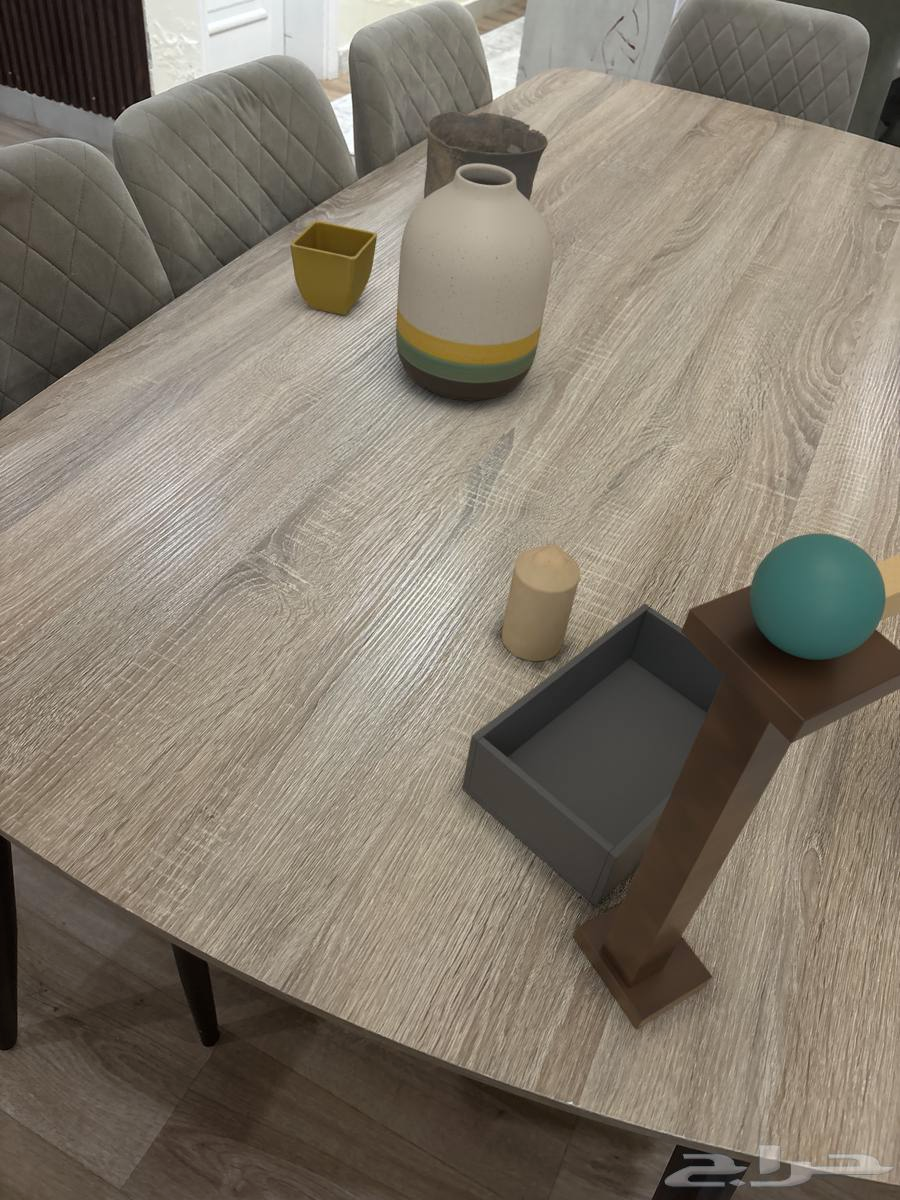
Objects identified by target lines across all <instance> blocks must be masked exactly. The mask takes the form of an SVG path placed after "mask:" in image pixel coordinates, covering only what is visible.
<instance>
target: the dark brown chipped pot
mask: <svg viewBox="0 0 900 1200" xmlns="http://www.w3.org/2000/svg"><path fill="white" fill-rule="evenodd" d="M530 128H531V124H526V123H525V121H522V120H520V119H516V118H513V117H508V116H505V115H503V114H495V113H491V112H479V113H474V114H469V113H462V112H461V111H448V112H444V113H440V114H437V115H435V116H433V117H431V118H430V120H429V121H428V123H427V126H426V134H427V145H426V146H427V147H426V168H425V169H426V170H425V179H424V185H423V186H424V187H423V188H424V189H423V199H425V198H426V197H427V196H429V195H430V194H431V193H433V192H435V191H436V190H438V189H440V188H442V187H444V186H446V185H447V184H449V183H451V182H452V181H453V179H454V177H455V173H456V171H457V169H458V168H459V167H461V166H463V165H467V164H476V163H480V164H490V165H495V166H499V167H502V168H505V169H507V170H509V171H511V172H512V173H513V174H514V175H515V177H516V186H517V190H518V191H519V192H520V193H521V194H522V195H523V196H524V197H526V198H527V199H528V200H529V201H530V200H531V196H532V193H533V186H534V181H535V177H536V175H537V172H538V168H539V164H540V162H541V158H542V156H543V154H544V152H545V150H546V149H547V147H548V145H549V141H548V139H547V137H546V135H544V134H543V133H542V132H540V130H536V129H534V128H533V129H530ZM530 202H531V201H530Z"/></svg>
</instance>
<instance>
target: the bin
mask: <svg viewBox="0 0 900 1200" xmlns="http://www.w3.org/2000/svg"><path fill="white" fill-rule="evenodd" d="M682 628H683V627H682V626H679V625H678V624H677V623H675V622H673V621H672V620H671V619H669V618H668V617H666V616H665V615H663V614H662V613H660V612H659V611H657V610H656V609H655V608H653V607H651V606H650V605H649V604H647V603H643V604H642V605H641V606H639V607H638V608H637V609H635V610H633V612H631V613H630V614H629V615H628V616H626V617H625V618H624V619H622V620H621V621H620V622H618V623H617V624H615V625H614V626H613V627H612V628H611V629H609V630H608V631H607V632H605V633H604V634H603V635H601V636H600V637H599V638H597V639H596V640H595V641H593V642H592V643H591V644H590V645H588V646H586V648H584V649H583V650H582V651H581V652H579V653H578V654H577V655H575V656H574V657H573V658H571V659H570V660H569V661H567V662H566V663H565V664H563V665H562V666H561V667H560V668H558V669H557V670H556V671H554V672H553V673H552V674H551V675H549V676H548V677H546V678H545V679H544V680H543V681H541V682H540V683H538V684H537V685H536V686H534V688H532V689H531V690H529V691H528V692H527V693H525V694H524V695H523V696H522V697H521V698H519V699H518V700H517V701H515V702H514V703H513V704H511V705H510V706H509V707H507V708H506V709H505V710H503V711H502V712H500V714H498V715H497V716H496V717H494V718H493V719H491V721H489V722H487V723H486V724H485V725H483V726H482V727H481V728H480V729H479V730H478V731H476V732H475V733H473V734H471V737H470V742H469V748H468V754H467V759H466V763H465V764H466V765H465V771H464V775H463V781H462V786H461V790H463V791H464V792H465V793H466V794H467V795H469V796H470V797H471V798H472V799H473V800H474V801H475V802H476V803H477V804H478V805H480V806H481V807H482V808H483V809H484V810H485V811H486V812H488V813H489V814H490V815H491V816H492V817H493V818H494V819H496V820H497V821H498V822H499V823H500V824H501V825H502V826H504V828H506V829H507V830H508V831H509V832H510V833H511V834H513V835H514V836H515V838H517V839H518V840H519V841H521V842H522V843H523V844H524V845H525V846H526V847H527V848H528V849H529V850H530V851H532V852H533V853H534V854H535V855H536V856H538V858H540V859H541V861H543V862H544V863H545V864H546V865H548V867H550V868H551V869H552V870H553V871H555V872H556V873H557V874H558V875H559V876H560V877H561V878H563V880H565V881H566V882H567V883H568V884H569V885H570V886H571V887H573V889H575V890H576V891H577V892H578V893H579V894H580V895H581V896H583V897H584V898H585V899H586V900H587V901H588V902H589V903H591V904H592V905H593V906H594V907H595V908H597V907H599V905H600V904H601V903H602V902H603V901H604V900H605V899H606V898H607V897H608V896H609V895H611V893H612V892H613V891H614V890H615V889H616V888H617V887H618V886H619V885H620V884H621V883H622V882H623V881H624V880H625V879H626V878H627V877H628V875H630V874H631V873H632V872H633V871H634V869H635V868H637V867H638V866H639V863H640V861H641V859H642V857H643V855H644V852H645V850H646V848H647V846H648V843H649V841H650V839H651V837H652V835H653V832H654V830H655V828H656V826H657V823H658V821H659V819H660V817H661V815H662V812H663V810H664V808H665V806H666V803H667V801H668V799H669V797H670V795H671V792H672V790H673V788H674V786H675V783H676V781H677V779H678V777H679V775H680V772H681V770H682V768H683V766H684V763H685V761H686V759H687V757H688V755H689V752H690V750H691V748H692V746H693V743H694V741H695V739H696V737H697V735H698V732H699V730H700V728H701V726H702V723H703V721H704V719H705V717H706V715H707V712H708V710H709V708H710V706H711V704H712V701H713V699H714V697H715V695H716V692H717V690H718V688H719V686H720V684H721V681H722V679H723V677H724V675H723V674H722V673H721V672H720V671H719V670H718V669H717V668H716V667H715V666H714V665H713V664H712V663H711V662H710V661H709V660H708V659H707V658H706V657H705V655H704V654H703V653H702V652H701V651H700V650H699V649H698V648H697V647H696V646H695V645H694V644H693V643H692V642H691V641H690V640H689V639H688V638H687V637H686V636H685V635H684V634H683V633H682V632H681V631H682Z"/></svg>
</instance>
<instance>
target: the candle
mask: <svg viewBox="0 0 900 1200" xmlns="http://www.w3.org/2000/svg"><path fill="white" fill-rule="evenodd" d="M580 578H581V569H580V566H579V564H578V562H577V561H576V559H574V558H573V557H572V556H571V555H569V554H568V553H567V552H566V551H565V550H564V549H562V547H561V546H560V545H558V544H548V545H540V546H535V547H531V548H528V549H526V550H524V551H522V552H521V553H520V554H519V555H518V556H517V557H516V559H515V561H514V566H513V570H512V576H511V582H510V586H509V592H508V597H507V602H506V608H505V613H504V617H503V623H502V628H501V629H502V630H501V639H502V642H503V644H504V646H505V649H507V650H508V651H509V652H510V653H511V654H512V655H514V656H515V657H517V658H519V659H522V660H525V661H529V662H543V661H547V660H550V659H553V658H554V657H555V656H556V655H557V654H558V653H559V652H560V650H561V649H562V647H563V644H564V640H565V637H566V632H567V629H568V625H569V622H570V617H571V613H572V609H573V606H574V601H575V597H576V593H577V590H578V588H579V587H578V586H579V582H580Z"/></svg>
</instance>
